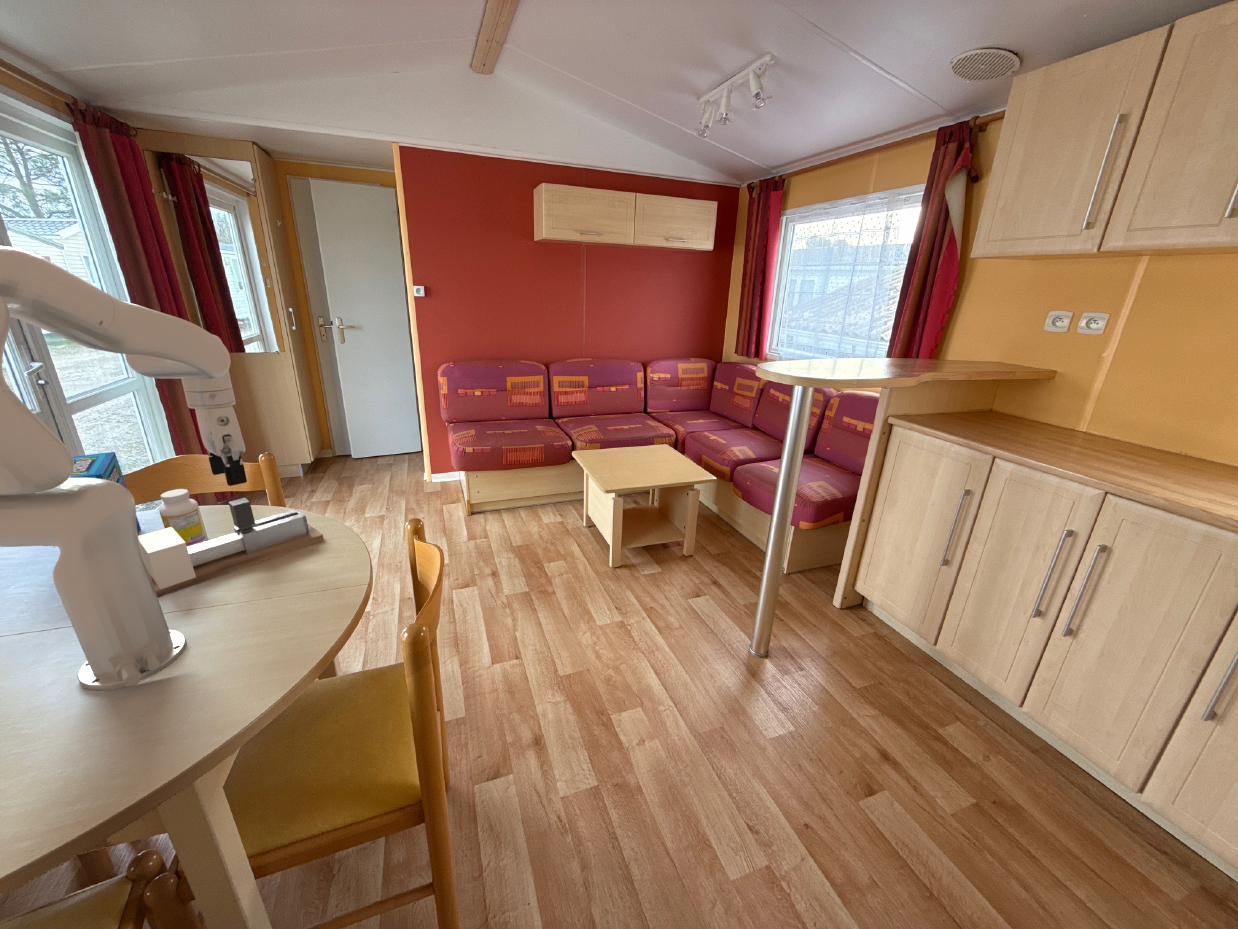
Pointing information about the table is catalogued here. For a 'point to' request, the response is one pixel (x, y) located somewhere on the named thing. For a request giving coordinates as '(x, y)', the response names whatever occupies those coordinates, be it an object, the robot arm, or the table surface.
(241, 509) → the sliding bolt latch
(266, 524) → the outer sleeve
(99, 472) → the box
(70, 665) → the table surface
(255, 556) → the base board
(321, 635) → the table surface
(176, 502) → the supplement bottle
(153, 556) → the block
